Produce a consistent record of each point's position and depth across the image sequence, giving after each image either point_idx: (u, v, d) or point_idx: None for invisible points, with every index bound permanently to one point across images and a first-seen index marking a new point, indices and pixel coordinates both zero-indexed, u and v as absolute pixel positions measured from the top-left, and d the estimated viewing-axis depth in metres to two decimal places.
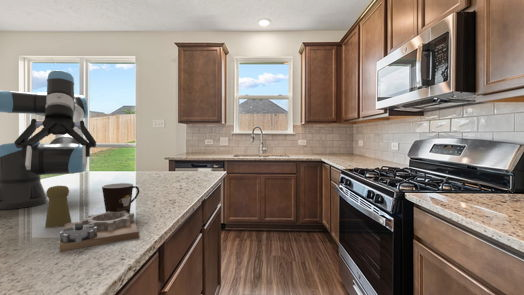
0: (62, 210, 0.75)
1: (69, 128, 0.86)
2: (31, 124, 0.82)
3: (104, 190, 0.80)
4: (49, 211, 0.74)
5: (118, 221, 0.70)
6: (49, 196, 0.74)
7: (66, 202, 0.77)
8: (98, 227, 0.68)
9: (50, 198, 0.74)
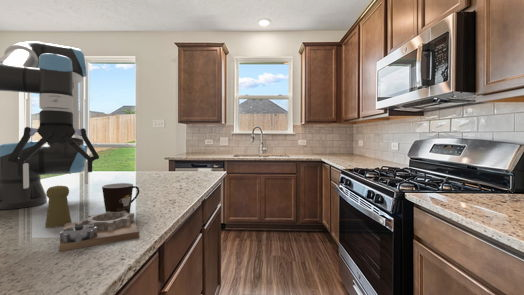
0: (62, 210, 0.75)
1: (69, 140, 0.76)
2: (25, 135, 0.71)
3: (104, 190, 0.80)
4: (49, 211, 0.74)
5: (118, 221, 0.70)
6: (49, 196, 0.74)
7: (66, 202, 0.77)
8: (98, 227, 0.68)
9: (50, 198, 0.74)
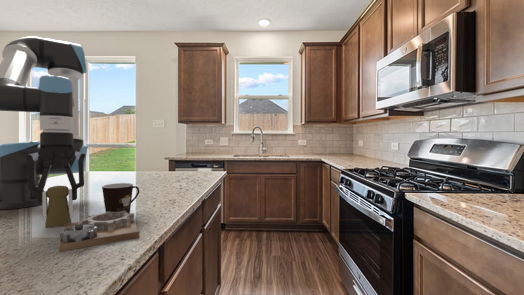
0: (62, 210, 0.75)
1: (65, 163, 0.76)
2: (29, 162, 0.72)
3: (104, 190, 0.80)
4: (49, 210, 0.74)
5: (118, 221, 0.70)
6: (49, 196, 0.74)
7: (66, 202, 0.77)
8: (98, 227, 0.68)
9: (50, 198, 0.74)
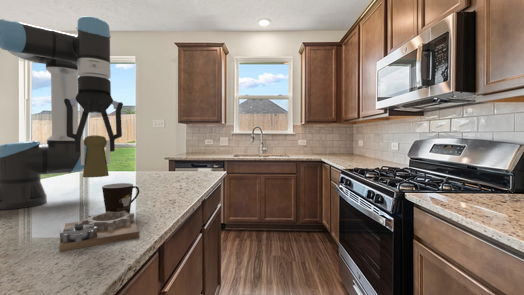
0: (101, 160, 0.71)
1: (103, 111, 0.72)
2: (68, 107, 0.68)
3: (104, 190, 0.80)
4: (88, 160, 0.70)
5: (118, 221, 0.70)
6: (87, 144, 0.70)
7: (104, 153, 0.72)
8: (98, 227, 0.68)
9: (88, 147, 0.70)
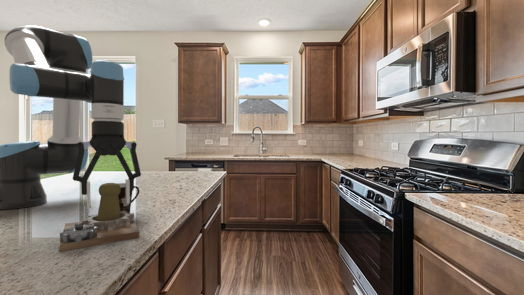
0: (115, 209, 0.71)
1: (118, 153, 0.72)
2: (80, 150, 0.67)
3: None
4: (102, 209, 0.70)
5: (118, 221, 0.70)
6: (102, 194, 0.70)
7: (118, 200, 0.73)
8: (98, 227, 0.68)
9: (103, 196, 0.70)
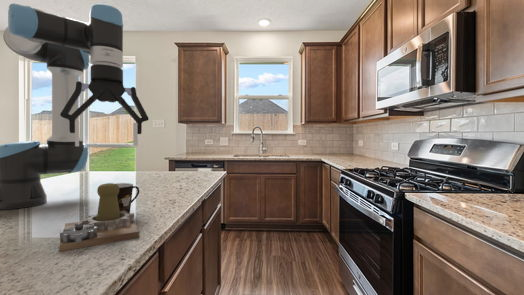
0: (114, 209, 0.71)
1: (120, 98, 0.72)
2: (76, 89, 0.67)
3: None
4: (101, 209, 0.70)
5: (118, 221, 0.70)
6: (101, 194, 0.70)
7: (117, 201, 0.73)
8: (98, 227, 0.68)
9: (101, 196, 0.70)
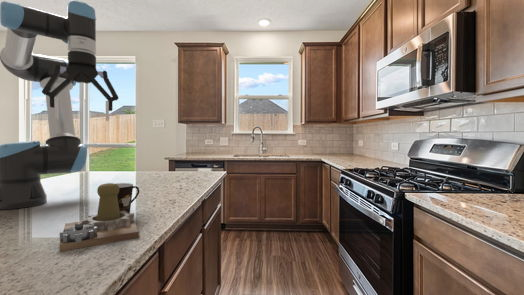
0: (114, 209, 0.71)
1: (93, 80, 0.86)
2: (55, 71, 0.81)
3: None
4: (101, 209, 0.70)
5: (118, 221, 0.70)
6: (101, 194, 0.70)
7: (117, 201, 0.73)
8: (98, 227, 0.68)
9: (101, 196, 0.70)
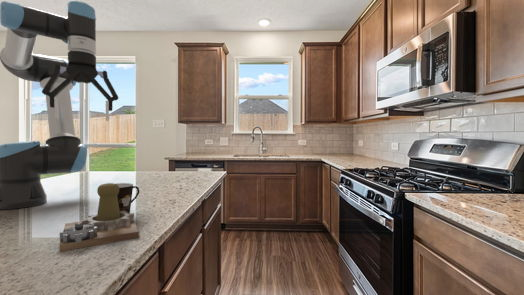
0: (114, 209, 0.71)
1: (93, 80, 0.86)
2: (55, 71, 0.81)
3: None
4: (101, 209, 0.70)
5: (118, 221, 0.70)
6: (101, 194, 0.70)
7: (117, 201, 0.73)
8: (98, 227, 0.68)
9: (101, 196, 0.70)
